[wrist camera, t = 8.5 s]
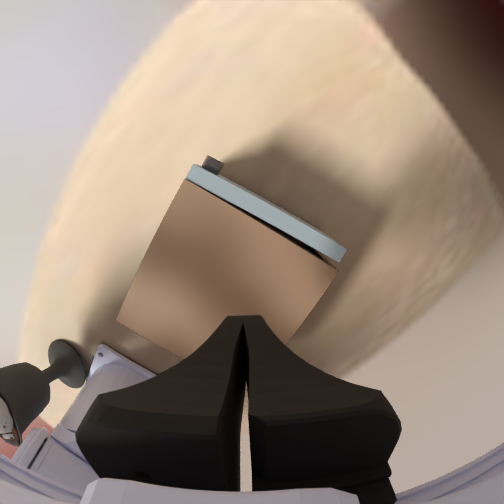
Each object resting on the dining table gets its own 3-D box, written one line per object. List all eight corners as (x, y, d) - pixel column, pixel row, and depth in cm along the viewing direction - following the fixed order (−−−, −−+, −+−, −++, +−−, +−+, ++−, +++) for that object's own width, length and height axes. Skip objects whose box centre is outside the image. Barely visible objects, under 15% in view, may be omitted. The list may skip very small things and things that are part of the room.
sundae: (94, 349, 21) (-40, 431, 6) (92, 406, 21) (-7, 493, 6) (43, 319, 21) (-82, 366, 6) (44, 375, 22) (-56, 434, 7)
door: (318, 243, 19) (339, 262, 15) (200, 178, 18) (185, 178, 13) (330, 224, 19) (354, 238, 14) (211, 157, 18) (199, 151, 13)
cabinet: (248, 347, 21) (248, 390, 16) (142, 289, 20) (115, 320, 15) (317, 248, 19) (338, 271, 15) (201, 178, 18) (184, 178, 13)
